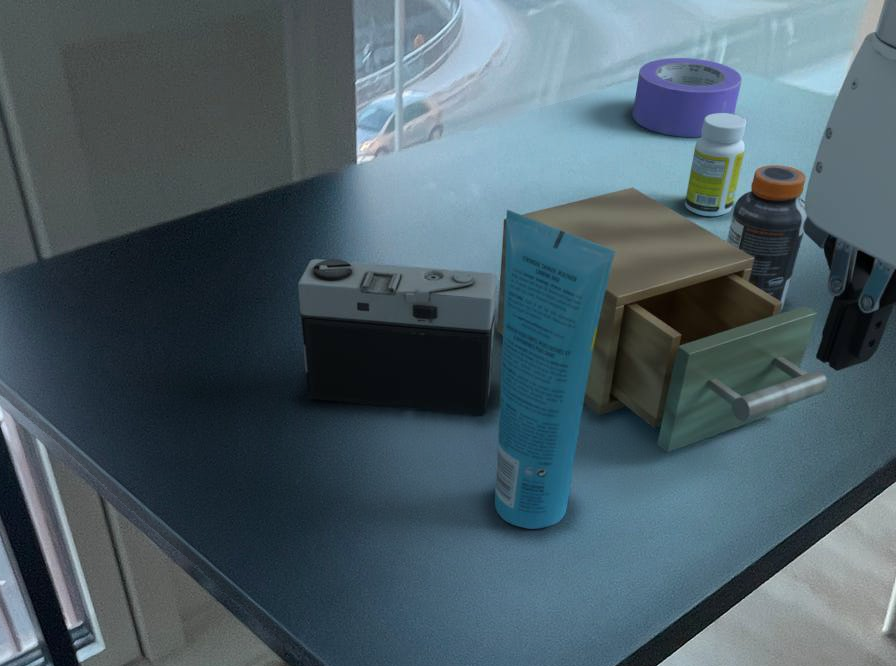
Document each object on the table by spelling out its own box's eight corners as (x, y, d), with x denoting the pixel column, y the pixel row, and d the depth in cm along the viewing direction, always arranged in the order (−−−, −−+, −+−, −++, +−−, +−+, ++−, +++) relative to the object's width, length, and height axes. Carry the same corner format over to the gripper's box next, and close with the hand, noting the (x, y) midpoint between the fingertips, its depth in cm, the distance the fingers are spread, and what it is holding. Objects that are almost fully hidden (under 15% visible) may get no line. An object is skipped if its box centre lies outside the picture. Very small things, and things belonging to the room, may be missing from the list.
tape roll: (753, 126, 119) (763, 79, 115) (676, 144, 115) (685, 97, 111) (686, 96, 126) (694, 51, 122) (612, 113, 122) (618, 67, 118)
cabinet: (726, 373, 81) (755, 257, 74) (598, 415, 77) (617, 297, 70) (615, 296, 90) (632, 186, 83) (496, 331, 85) (503, 218, 79)
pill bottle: (795, 305, 89) (834, 173, 81) (758, 328, 86) (794, 194, 78) (737, 282, 92) (768, 152, 84) (699, 304, 89) (728, 172, 81)
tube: (594, 511, 69) (639, 233, 55) (556, 547, 66) (593, 265, 52) (504, 470, 72) (525, 198, 58) (464, 504, 69) (476, 227, 55)
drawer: (829, 438, 73) (863, 340, 67) (707, 484, 69) (733, 385, 64) (672, 330, 84) (690, 238, 78) (559, 365, 80) (570, 271, 74)
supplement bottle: (716, 195, 105) (735, 109, 99) (740, 214, 102) (760, 125, 96) (675, 201, 104) (691, 114, 98) (698, 220, 101) (716, 131, 95)
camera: (498, 363, 82) (506, 243, 75) (485, 419, 76) (493, 295, 69) (330, 348, 83) (322, 228, 76) (305, 402, 78) (295, 279, 71)
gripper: (1152, 51, 46) (984, 402, 59) (896, -23, 55) (800, 296, 68) (1044, 74, 43) (893, 437, 56) (794, -7, 52) (715, 321, 65)
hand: (843, 359), depth 62 cm, fingers closed
